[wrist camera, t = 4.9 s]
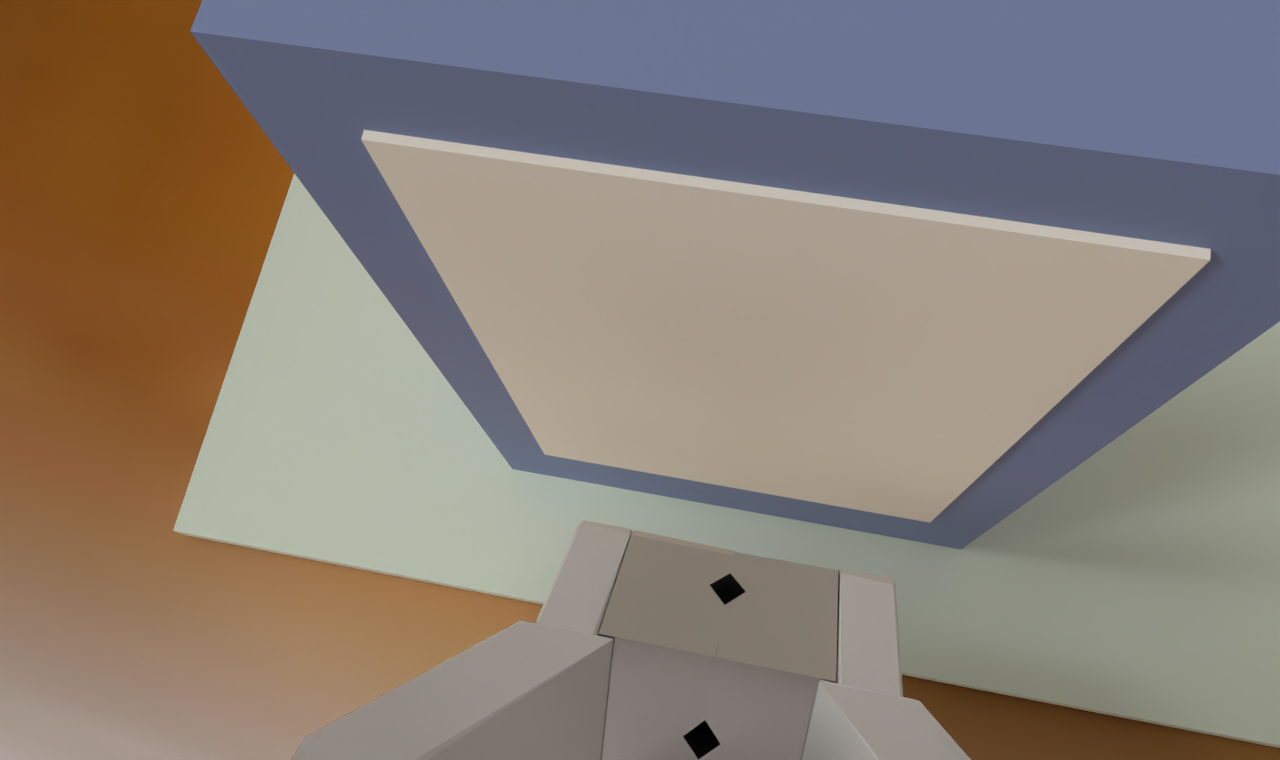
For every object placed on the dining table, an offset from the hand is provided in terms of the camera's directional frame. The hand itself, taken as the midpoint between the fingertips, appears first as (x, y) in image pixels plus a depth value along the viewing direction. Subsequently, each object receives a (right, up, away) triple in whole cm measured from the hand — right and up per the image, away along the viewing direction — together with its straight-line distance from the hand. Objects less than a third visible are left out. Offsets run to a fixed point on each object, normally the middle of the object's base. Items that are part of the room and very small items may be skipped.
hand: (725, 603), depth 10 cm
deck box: (+1, +1, +5) cm, 5 cm away
